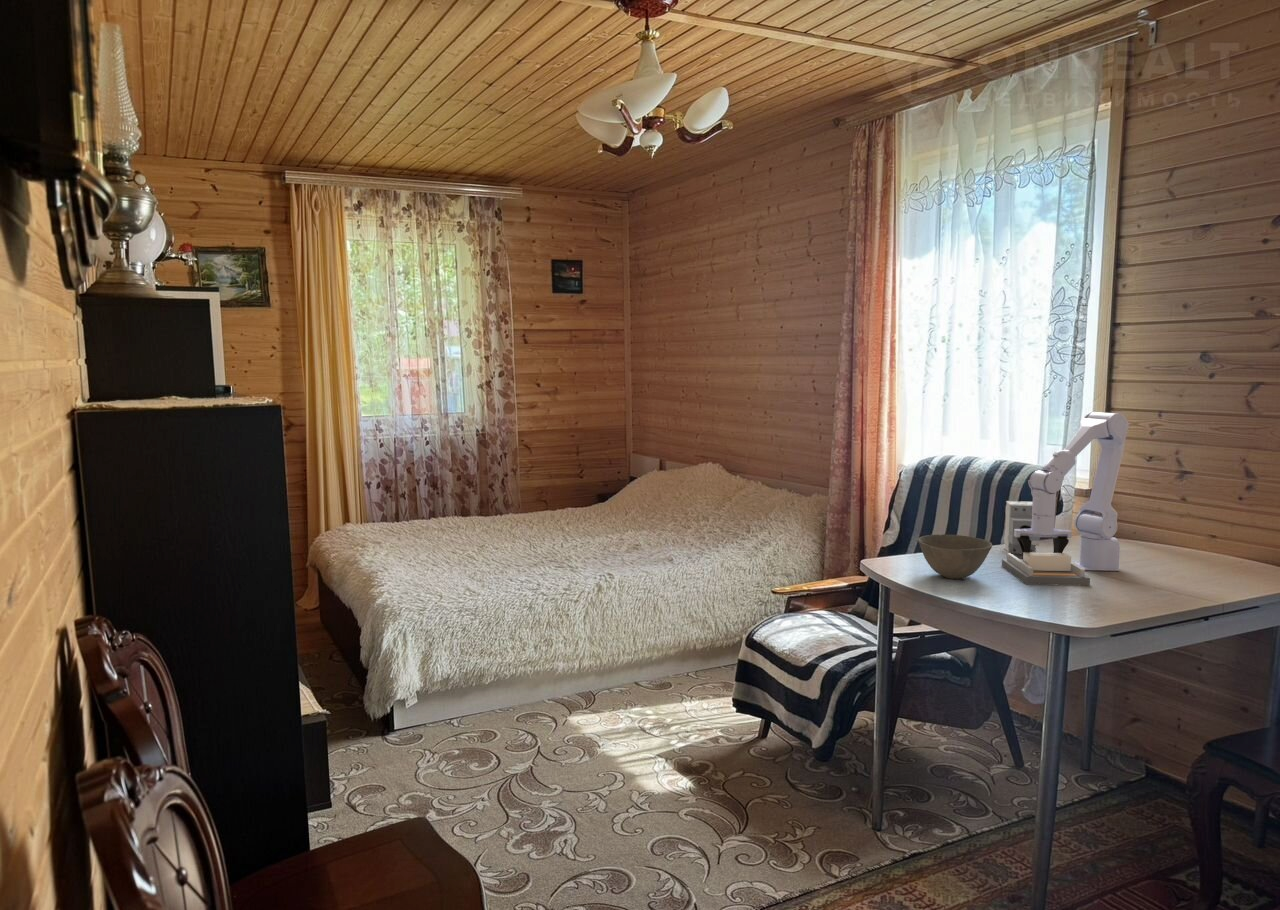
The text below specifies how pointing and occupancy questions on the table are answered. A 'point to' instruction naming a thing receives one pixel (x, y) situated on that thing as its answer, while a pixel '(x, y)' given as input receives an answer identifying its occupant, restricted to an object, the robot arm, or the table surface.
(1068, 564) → the breaker toggle
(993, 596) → the table surface
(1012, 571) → the grey shallow rectangular tray
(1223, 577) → the table surface
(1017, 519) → the circuit breaker
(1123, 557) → the table surface
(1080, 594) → the table surface
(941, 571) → the bowl
